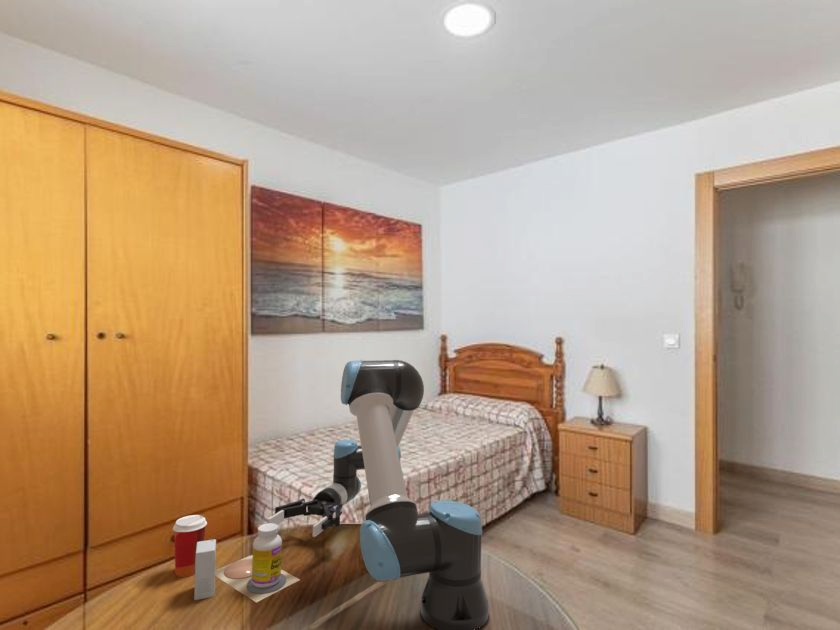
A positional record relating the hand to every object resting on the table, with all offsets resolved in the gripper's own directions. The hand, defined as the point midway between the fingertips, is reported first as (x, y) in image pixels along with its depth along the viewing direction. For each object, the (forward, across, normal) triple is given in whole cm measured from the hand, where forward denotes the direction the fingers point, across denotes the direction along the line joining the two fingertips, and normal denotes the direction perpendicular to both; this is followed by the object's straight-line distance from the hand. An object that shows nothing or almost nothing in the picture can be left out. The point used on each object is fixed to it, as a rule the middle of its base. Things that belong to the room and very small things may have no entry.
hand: (290, 527), depth 118 cm
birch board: (+8, +5, -11) cm, 14 cm away
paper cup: (+11, +22, -11) cm, 27 cm away
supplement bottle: (+10, 0, -9) cm, 13 cm away
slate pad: (+10, 0, -9) cm, 13 cm away
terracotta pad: (+6, +9, -9) cm, 15 cm away
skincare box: (+17, +11, -11) cm, 23 cm away
